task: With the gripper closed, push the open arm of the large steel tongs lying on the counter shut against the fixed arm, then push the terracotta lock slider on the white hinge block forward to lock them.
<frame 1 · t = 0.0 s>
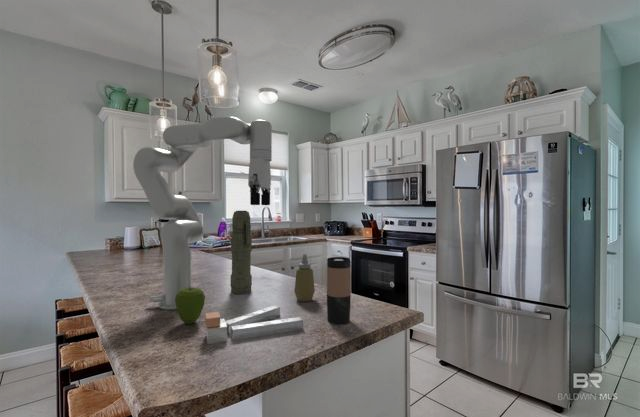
hand: (260, 205, 112), 37 cm above the counter, tool pointing down, fingers open, 9 cm apart
squeeze bottle: (304, 300, 126), on the counter
lock slider: (212, 319, 88), point 5 cm above the counter, slide at 0.0 cm
travel mug: (338, 321, 102), on the counter
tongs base: (221, 337, 89), on the counter
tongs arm: (253, 318, 100), point 1 cm above the counter, hinge at 28.5°, touching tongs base
apple: (190, 323, 100), on the counter
thermos: (241, 292, 138), on the counter
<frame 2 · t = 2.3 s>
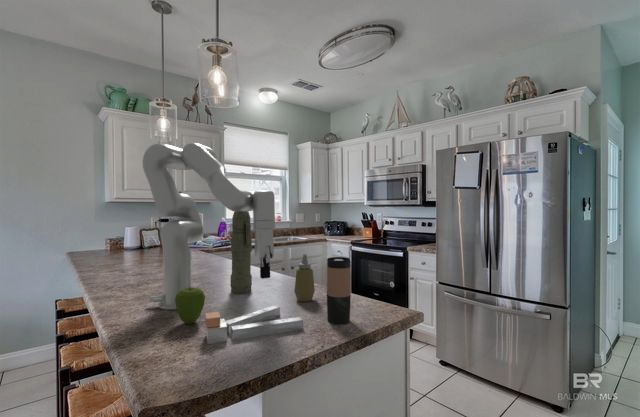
hand: (265, 277, 112), 12 cm above the counter, tool pointing down, fingers closed
nothing on the counter moved.
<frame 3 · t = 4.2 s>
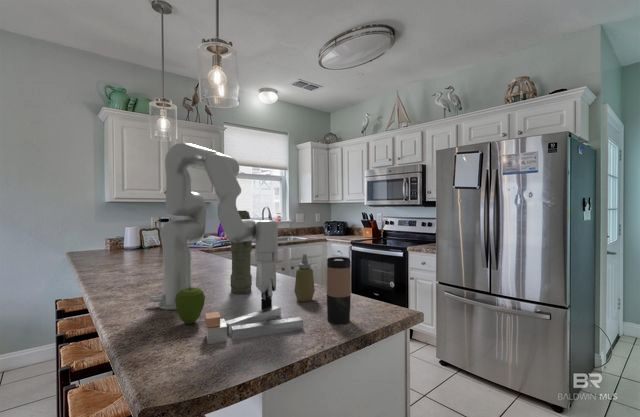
hand: (266, 310, 108), 1 cm above the counter, tool pointing down, fingers closed
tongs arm: (253, 318, 100), point 1 cm above the counter, hinge at 27.5°, touching gripper
everything else where it was.
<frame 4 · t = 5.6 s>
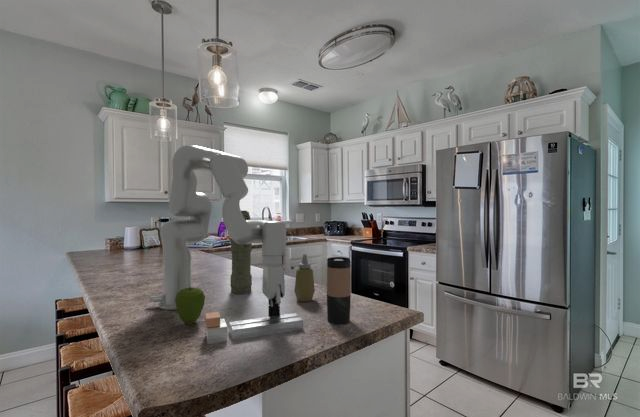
hand: (274, 318, 100), 2 cm above the counter, tool pointing down, fingers closed
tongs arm: (265, 323, 96), point 1 cm above the counter, hinge at 0.7°, touching gripper
everything else where it was.
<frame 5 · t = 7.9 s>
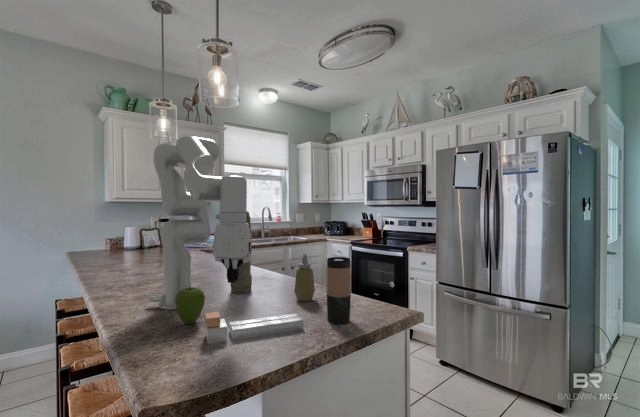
hand: (232, 281, 92), 15 cm above the counter, tool pointing down, fingers closed
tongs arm: (265, 323, 96), point 1 cm above the counter, hinge at -0.5°
everything else where it was.
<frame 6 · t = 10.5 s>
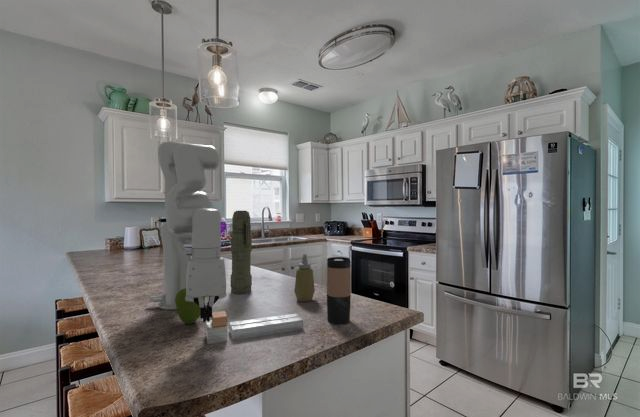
hand: (206, 320, 88), 5 cm above the counter, tool pointing down, fingers closed
lock slider: (219, 318, 89), point 5 cm above the counter, slide at 1.8 cm, touching gripper
everything else where it was.
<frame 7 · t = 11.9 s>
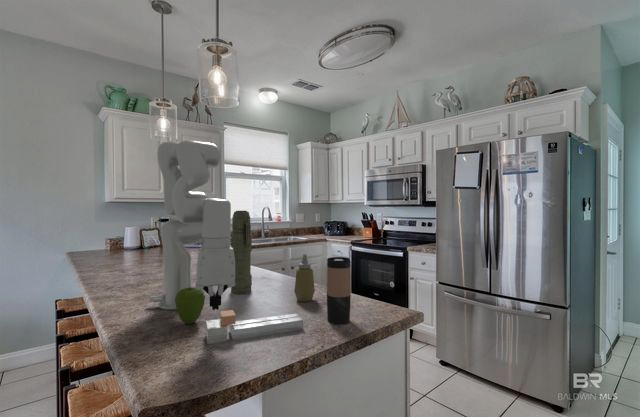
hand: (215, 308, 89), 8 cm above the counter, tool pointing down, fingers closed
lock slider: (227, 317, 90), point 5 cm above the counter, slide at 4.1 cm
everything else where it was.
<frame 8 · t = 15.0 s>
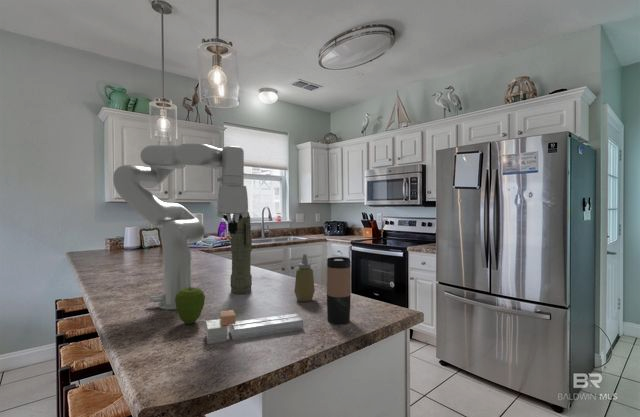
hand: (232, 233, 113), 27 cm above the counter, tool pointing down, fingers closed
nothing on the counter moved.
at the end: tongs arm at +0° (first picture: +29°); lock slider slide at 4.1 cm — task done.
